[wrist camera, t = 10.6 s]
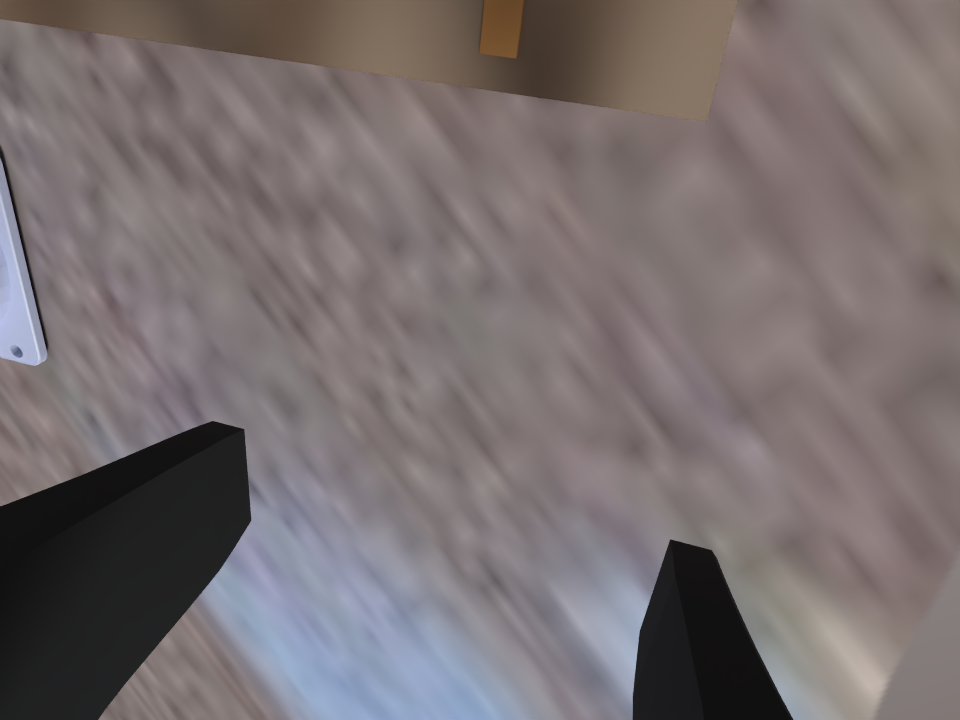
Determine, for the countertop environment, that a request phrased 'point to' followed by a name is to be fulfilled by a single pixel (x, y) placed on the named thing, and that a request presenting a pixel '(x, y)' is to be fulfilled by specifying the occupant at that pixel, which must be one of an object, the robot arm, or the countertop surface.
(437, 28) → the tan slider track board
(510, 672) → the countertop surface
